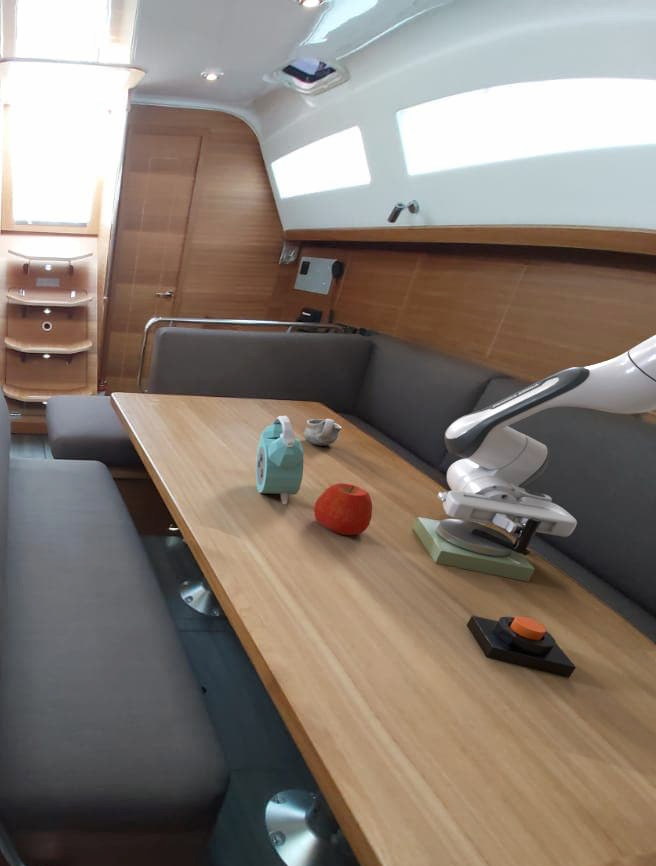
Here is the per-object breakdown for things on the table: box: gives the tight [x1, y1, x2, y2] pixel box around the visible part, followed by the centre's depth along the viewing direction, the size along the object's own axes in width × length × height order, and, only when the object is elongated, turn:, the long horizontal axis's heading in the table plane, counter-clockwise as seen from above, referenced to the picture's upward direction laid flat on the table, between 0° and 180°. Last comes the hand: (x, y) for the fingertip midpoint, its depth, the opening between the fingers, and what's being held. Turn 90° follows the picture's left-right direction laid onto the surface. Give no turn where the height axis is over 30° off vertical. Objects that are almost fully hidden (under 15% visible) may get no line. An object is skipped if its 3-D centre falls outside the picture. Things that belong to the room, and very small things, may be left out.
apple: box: [313, 482, 373, 536], centre depth 110 cm, size 11×11×11 cm
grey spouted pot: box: [303, 418, 342, 447], centre depth 158 cm, size 10×12×10 cm
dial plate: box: [412, 516, 536, 583], centre depth 104 cm, size 15×15×3 cm
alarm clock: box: [255, 415, 305, 505], centre depth 123 cm, size 17×10×20 cm, turn 165°
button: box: [510, 615, 547, 641], centre depth 77 cm, size 4×4×2 cm
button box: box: [466, 615, 577, 679], centre depth 78 cm, size 10×8×4 cm
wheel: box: [437, 517, 542, 556], centre depth 100 cm, size 14×12×9 cm
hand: (523, 531), depth 96 cm, fingers closed
